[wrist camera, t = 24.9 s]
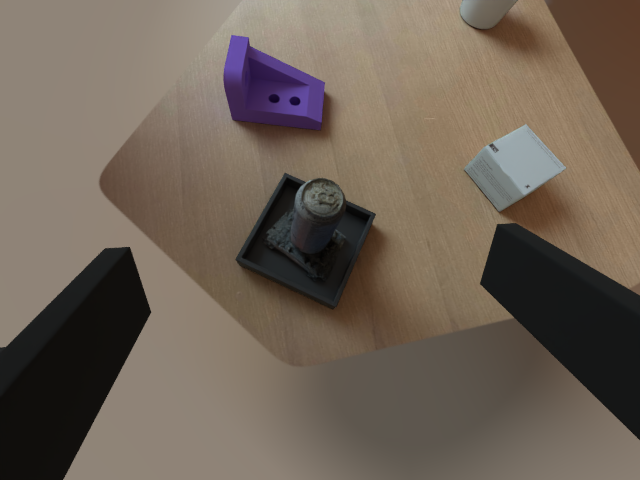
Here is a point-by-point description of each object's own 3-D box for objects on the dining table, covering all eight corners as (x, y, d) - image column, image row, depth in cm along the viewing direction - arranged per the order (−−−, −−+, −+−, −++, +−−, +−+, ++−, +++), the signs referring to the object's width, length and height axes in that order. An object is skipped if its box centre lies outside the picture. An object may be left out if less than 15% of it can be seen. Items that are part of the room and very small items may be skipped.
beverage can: (351, 230, 37) (378, 182, 26) (324, 287, 35) (341, 261, 24) (285, 198, 38) (283, 138, 26) (254, 252, 35) (237, 211, 24)
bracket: (232, 119, 42) (222, 79, 35) (240, 80, 44) (231, 35, 37) (320, 130, 42) (325, 92, 36) (323, 91, 45) (329, 48, 38)
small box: (537, 188, 43) (569, 168, 38) (497, 213, 41) (525, 196, 36) (501, 145, 44) (527, 122, 40) (461, 168, 43) (483, 146, 38)
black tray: (239, 265, 36) (235, 259, 33) (285, 183, 39) (284, 172, 37) (332, 309, 35) (336, 307, 33) (370, 221, 39) (376, 213, 36)
